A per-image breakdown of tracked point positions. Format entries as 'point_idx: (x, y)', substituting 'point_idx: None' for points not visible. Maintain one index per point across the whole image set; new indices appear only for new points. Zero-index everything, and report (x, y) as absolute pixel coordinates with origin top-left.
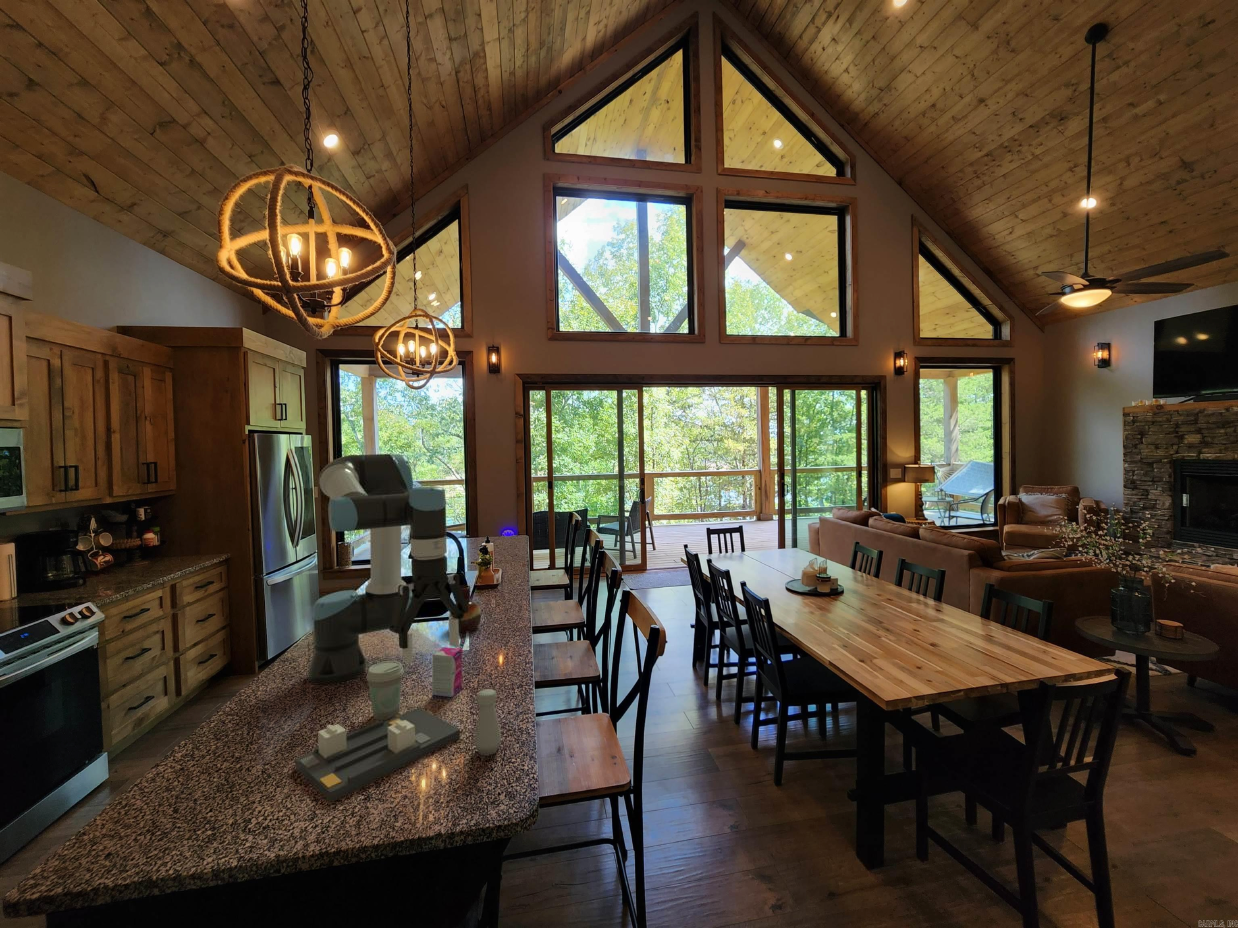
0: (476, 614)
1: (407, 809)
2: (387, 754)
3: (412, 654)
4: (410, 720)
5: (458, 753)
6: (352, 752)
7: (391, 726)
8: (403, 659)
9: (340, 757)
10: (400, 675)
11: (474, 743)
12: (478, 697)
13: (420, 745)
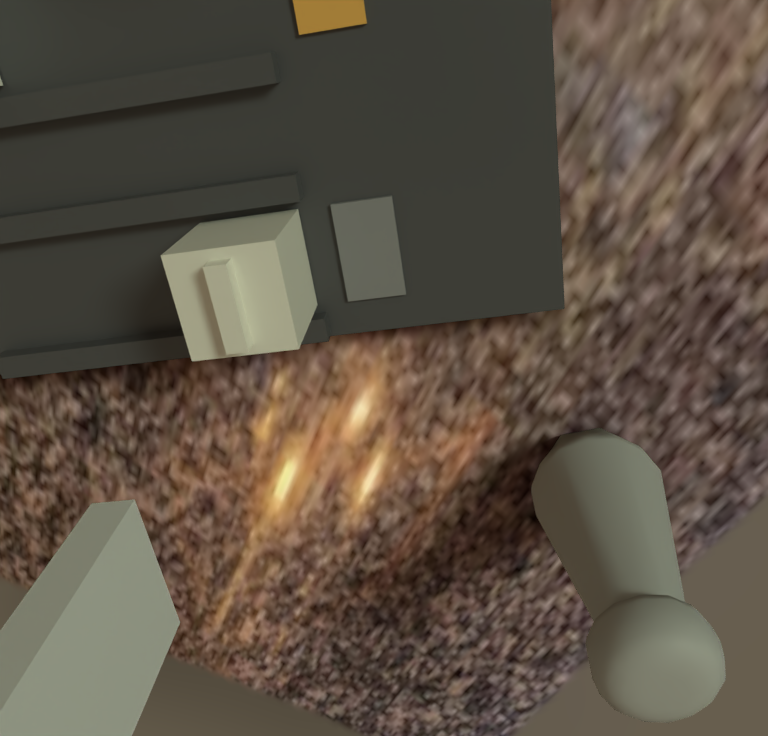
0: None
1: (196, 561)
2: None
3: (141, 708)
4: None
5: (480, 401)
6: (33, 124)
7: (183, 262)
8: (87, 523)
9: None
10: None
11: (536, 474)
12: (597, 676)
13: (341, 310)
